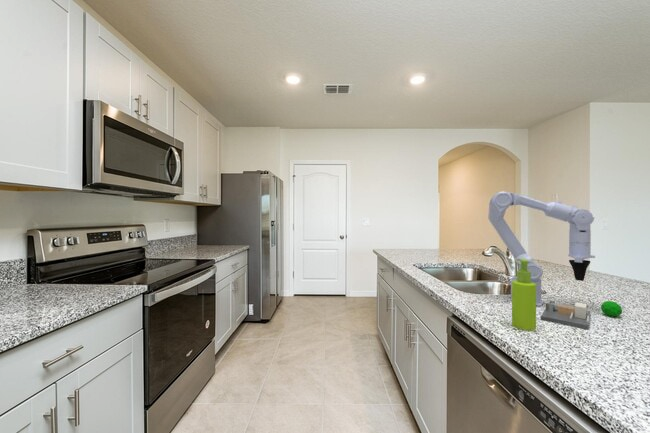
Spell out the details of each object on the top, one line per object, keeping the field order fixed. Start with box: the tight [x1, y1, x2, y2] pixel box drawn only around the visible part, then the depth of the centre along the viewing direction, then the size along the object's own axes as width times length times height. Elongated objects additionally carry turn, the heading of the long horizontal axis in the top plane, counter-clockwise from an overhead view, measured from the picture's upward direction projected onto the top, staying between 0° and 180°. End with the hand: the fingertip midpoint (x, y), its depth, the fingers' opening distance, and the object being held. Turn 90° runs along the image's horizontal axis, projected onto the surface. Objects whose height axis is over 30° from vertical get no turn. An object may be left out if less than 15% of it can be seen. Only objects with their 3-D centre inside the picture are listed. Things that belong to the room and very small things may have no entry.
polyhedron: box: [600, 300, 623, 318], centre depth 93 cm, size 5×5×5 cm
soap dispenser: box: [511, 259, 537, 332], centre depth 84 cm, size 6×7×20 cm
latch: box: [574, 301, 588, 319], centre depth 89 cm, size 3×5×4 cm, turn 135°
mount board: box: [540, 299, 591, 330], centre depth 92 cm, size 11×18×4 cm, turn 135°
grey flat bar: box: [551, 302, 589, 314], centre depth 92 cm, size 9×3×1 cm, turn 45°
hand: (579, 280), depth 101 cm, fingers closed
